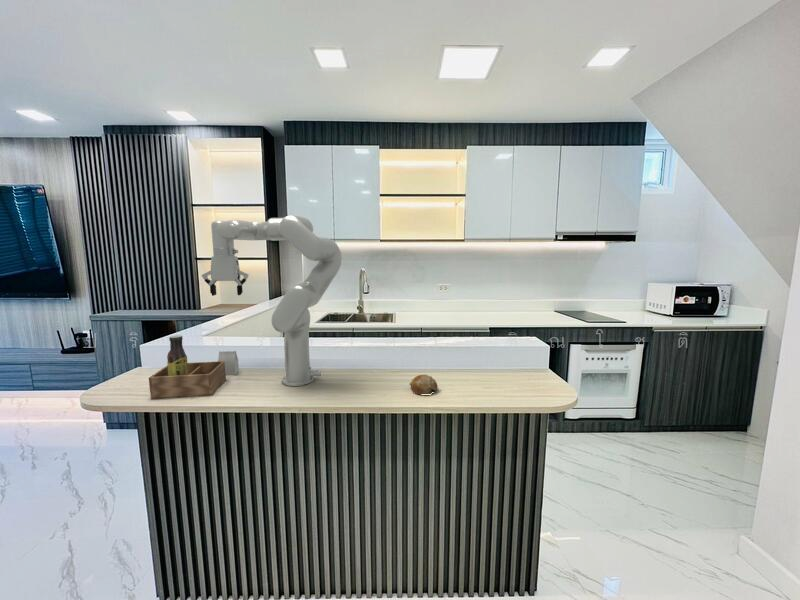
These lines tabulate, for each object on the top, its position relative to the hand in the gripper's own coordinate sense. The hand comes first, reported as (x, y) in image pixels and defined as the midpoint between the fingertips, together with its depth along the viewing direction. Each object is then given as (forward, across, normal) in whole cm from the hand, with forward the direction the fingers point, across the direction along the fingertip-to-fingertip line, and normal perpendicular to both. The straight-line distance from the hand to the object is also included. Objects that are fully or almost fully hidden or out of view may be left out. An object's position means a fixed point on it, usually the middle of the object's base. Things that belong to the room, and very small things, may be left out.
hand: (226, 295), depth 136 cm
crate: (+34, +11, +12) cm, 38 cm away
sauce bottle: (+34, +15, +12) cm, 39 cm away
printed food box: (+34, +2, -2) cm, 35 cm away
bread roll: (+35, -76, +27) cm, 88 cm away
